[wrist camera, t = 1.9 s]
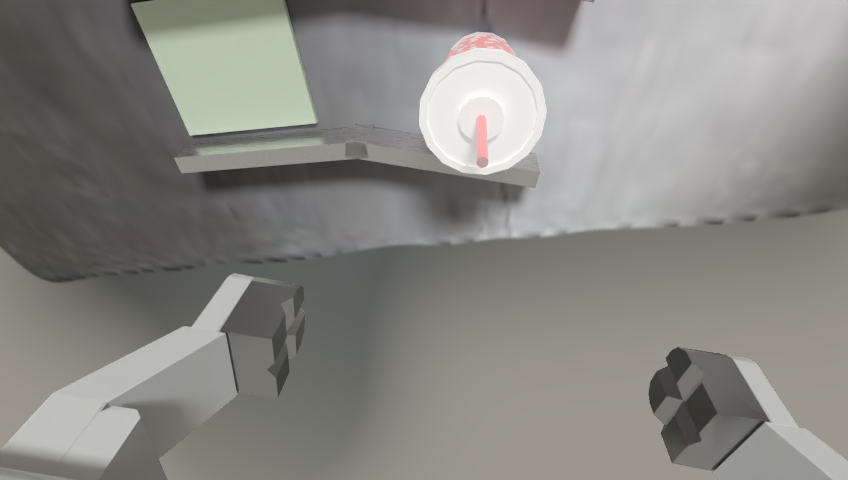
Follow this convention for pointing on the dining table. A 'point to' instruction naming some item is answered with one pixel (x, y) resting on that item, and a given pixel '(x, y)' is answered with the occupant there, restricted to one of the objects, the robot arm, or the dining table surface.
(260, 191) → the dining table surface
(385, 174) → the dining table surface
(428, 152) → the rail corridor
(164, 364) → the robot arm
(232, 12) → the pad
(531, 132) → the beverage cup
